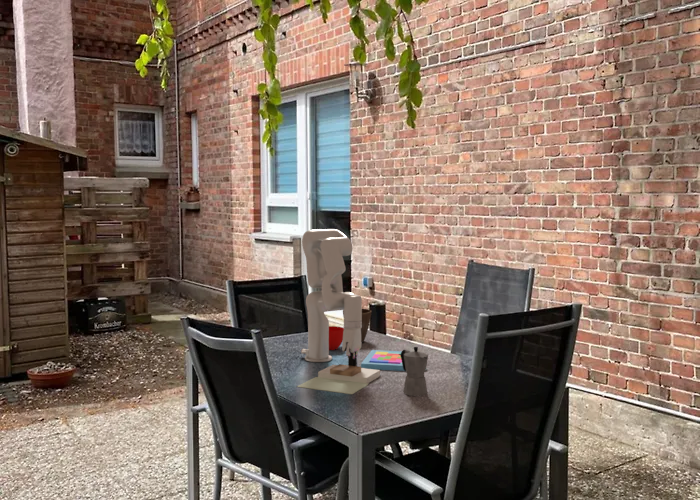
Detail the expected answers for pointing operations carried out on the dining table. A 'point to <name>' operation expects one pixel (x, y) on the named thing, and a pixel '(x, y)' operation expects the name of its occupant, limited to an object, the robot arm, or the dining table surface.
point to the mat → (333, 385)
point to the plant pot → (364, 322)
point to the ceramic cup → (335, 337)
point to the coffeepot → (414, 372)
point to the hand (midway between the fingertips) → (352, 367)
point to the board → (361, 377)
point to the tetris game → (383, 360)
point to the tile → (345, 370)
